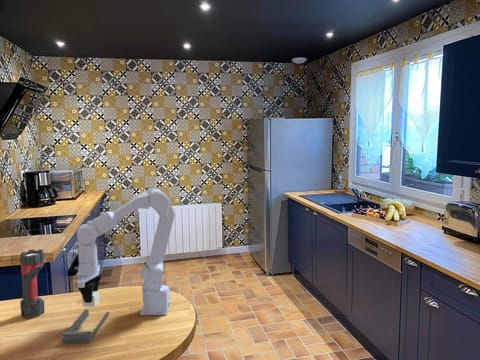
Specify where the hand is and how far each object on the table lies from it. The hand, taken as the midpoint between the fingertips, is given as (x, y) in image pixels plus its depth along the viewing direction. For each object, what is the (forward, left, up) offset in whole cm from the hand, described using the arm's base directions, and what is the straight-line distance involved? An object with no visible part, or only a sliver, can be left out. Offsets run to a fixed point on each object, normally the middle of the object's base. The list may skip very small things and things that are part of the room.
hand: (90, 299), depth 126 cm
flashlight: (+22, -6, -8) cm, 24 cm away
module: (0, 0, -2) cm, 2 cm away
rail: (0, +3, -8) cm, 9 cm away
